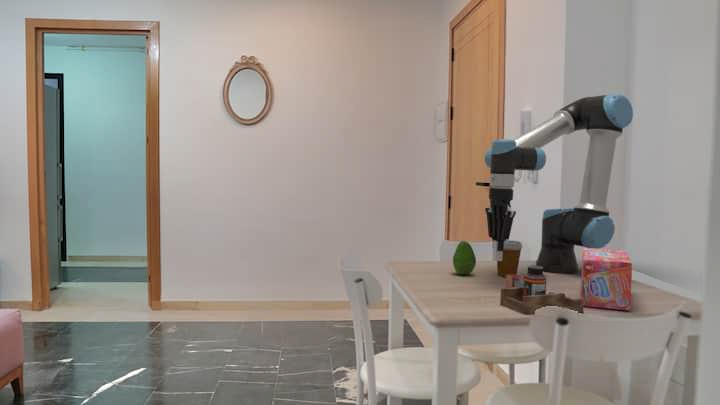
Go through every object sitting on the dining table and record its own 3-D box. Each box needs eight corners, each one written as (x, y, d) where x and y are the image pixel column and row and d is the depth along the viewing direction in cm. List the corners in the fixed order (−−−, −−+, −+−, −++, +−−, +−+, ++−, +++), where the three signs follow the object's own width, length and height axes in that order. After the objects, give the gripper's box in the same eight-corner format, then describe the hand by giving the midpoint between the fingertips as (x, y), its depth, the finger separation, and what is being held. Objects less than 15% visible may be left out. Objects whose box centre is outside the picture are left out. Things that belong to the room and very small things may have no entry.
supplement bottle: (519, 304, 154) (520, 264, 153) (539, 304, 154) (541, 264, 153) (527, 310, 148) (529, 268, 147) (548, 310, 148) (550, 268, 147)
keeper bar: (512, 287, 173) (513, 273, 172) (543, 298, 160) (544, 283, 159) (505, 288, 172) (506, 274, 171) (536, 299, 159) (537, 284, 158)
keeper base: (548, 299, 159) (549, 284, 159) (586, 312, 146) (586, 295, 146) (500, 304, 153) (500, 288, 152) (534, 318, 140) (535, 300, 139)
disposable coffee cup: (522, 279, 187) (523, 244, 186) (493, 277, 189) (495, 243, 188) (519, 274, 196) (521, 240, 195) (492, 272, 198) (494, 239, 197)
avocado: (450, 275, 190) (451, 241, 190) (455, 271, 198) (456, 238, 197) (473, 278, 187) (474, 243, 187) (477, 273, 195) (478, 240, 194)
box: (580, 287, 177) (582, 245, 176) (623, 292, 172) (626, 248, 171) (580, 307, 152) (582, 258, 151) (630, 313, 148) (633, 262, 147)
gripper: (479, 186, 180) (475, 257, 181) (504, 188, 168) (500, 264, 169) (498, 187, 183) (494, 256, 184) (524, 189, 171) (519, 263, 172)
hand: (497, 260), depth 177 cm, fingers closed
